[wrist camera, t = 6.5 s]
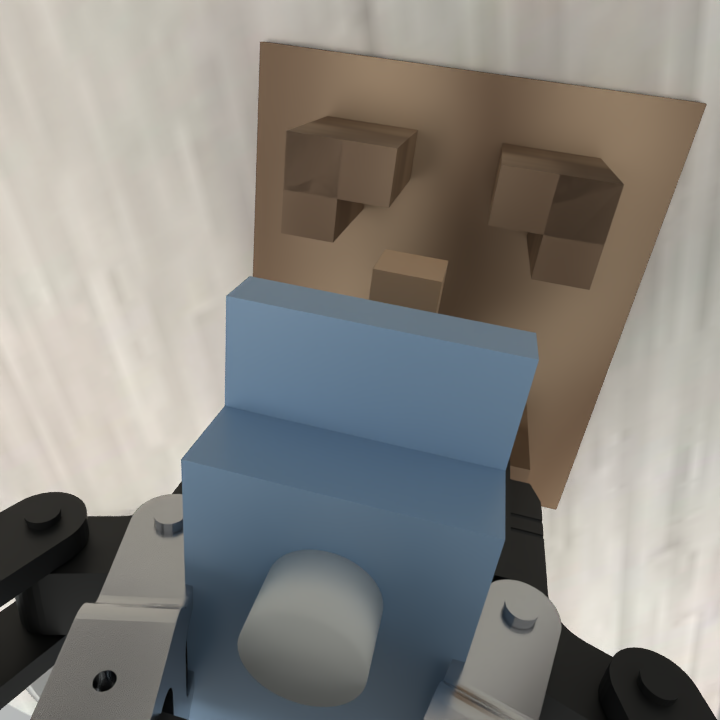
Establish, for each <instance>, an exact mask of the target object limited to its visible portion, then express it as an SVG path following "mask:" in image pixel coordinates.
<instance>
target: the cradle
mask: <svg viewBox="0 0 720 720" xmlns="http://www.w3.org/2000/svg"><path fill="white" fill-rule="evenodd" d="M705 107H706V104H704V103H700V102H693V101H686V100H678V99H671V98H664V97H657V96H650V95H643V94H635V93H628V92H621V91H614V90H607V89H599V88H592V87H585V86H578V85H571V84H564V83H556V82H549V81H542V80H535V79H528V78H521V77H513V76H506V75H499V74H492V73H485V72H478V71H470V70H463V69H456V68H449V67H442V66H435V65H427V64H420V63H413V62H406V61H399V60H392V59H384V58H377V57H370V56H363V55H356V54H348V53H341V52H334V51H327V50H320V49H313V48H305V47H298V46H291V45H284V44H277V43H270V42H260V65H259V98H258V130H257V163H256V195H255V227H254V260H253V277H257V278H262V279H267V280H272V281H277V282H282V283H287V284H292V285H297V286H302V287H307V288H312V289H317V290H322V291H327V292H332V293H337V294H342V295H347V296H352V297H357V298H362V299H367V300H369V294H370V287H371V279H372V272H373V268H374V266H375V265H376V263H377V262H378V260H379V259H380V257H381V255H382V254H383V252H384V251H385V249H388V250H393V251H398V252H404V253H409V254H415V255H420V256H425V257H431V258H436V259H441V260H447V261H448V265H447V270H446V275H445V280H444V285H443V290H442V295H441V300H440V305H439V310H438V314H443V315H448V316H453V317H458V318H463V319H468V320H473V321H478V322H483V323H488V324H493V325H498V326H503V327H508V328H514V329H519V330H524V331H529V332H534V333H536V337H537V346H538V355H539V361H538V365H537V368H536V371H535V375H534V378H533V381H532V385H531V388H530V391H529V395H528V398H527V401H526V405H525V408H524V411H523V414H522V418H521V421H520V424H519V428H518V431H517V434H516V438H515V441H514V444H513V448H512V451H511V454H510V479H512V480H516V481H521V482H525V483H529V484H530V485H531V486H532V488H533V490H534V491H535V493H536V495H537V496H538V498H539V500H540V501H541V506H543V507H547V508H551V509H555V510H556V509H557V506H558V503H559V501H560V498H561V495H562V492H563V490H564V487H565V484H566V482H567V479H568V476H569V474H570V471H571V468H572V466H573V463H574V460H575V457H576V455H577V452H578V449H579V447H580V444H581V441H582V439H583V436H584V433H585V430H586V428H587V425H588V422H589V420H590V417H591V414H592V412H593V409H594V406H595V404H596V401H597V398H598V395H599V393H600V390H601V387H602V385H603V382H604V379H605V377H606V374H607V371H608V369H609V366H610V363H611V360H612V358H613V355H614V352H615V350H616V347H617V344H618V342H619V339H620V336H621V334H622V331H623V328H624V325H625V323H626V320H627V317H628V315H629V312H630V309H631V307H632V304H633V301H634V298H635V296H636V293H637V290H638V288H639V285H640V282H641V280H642V277H643V274H644V272H645V269H646V266H647V263H648V261H649V258H650V255H651V253H652V250H653V247H654V245H655V242H656V239H657V237H658V234H659V231H660V228H661V226H662V223H663V220H664V218H665V215H666V212H667V210H668V207H669V204H670V201H671V199H672V196H673V193H674V191H675V188H676V185H677V183H678V180H679V177H680V175H681V172H682V169H683V166H684V164H685V161H686V158H687V156H688V153H689V150H690V148H691V145H692V142H693V140H694V137H695V134H696V131H697V129H698V126H699V123H700V121H701V118H702V115H703V113H704V110H705Z"/></svg>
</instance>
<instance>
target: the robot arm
mask: <svg viewBox="0 0 720 720" xmlns="http://www.w3.org/2000/svg"><path fill="white" fill-rule="evenodd" d="M13 598H15V599H16V601H15V602H14V603H12V604H11V605H10V606H8V607H7V608H5V609H4V610H2V611H1V612H0V710H1V708H3V707H4V706H5V705H7V704H8V703H9V702H10V701H11V700H13V699H14V698H15V697H16V696H18V695H19V694H20V693H21V692H22V691H24V690H25V689H26V688H27V687H29V686H30V685H31V684H32V683H33V682H35V681H36V680H37V679H38V678H39V677H41V676H42V675H43V674H44V673H46V672H47V671H48V670H49V669H50V668H52V667H53V666H54V667H53V669H52V671H51V674H50V676H49V678H48V680H47V683H46V685H45V687H44V689H43V692H42V694H41V696H40V699H39V701H38V703H37V705H36V708H35V710H34V712H33V714H32V717H31V719H30V720H189V715H190V709H191V704H192V699H193V694H194V689H195V685H194V671H190V670H188V663H187V634H188V628H189V623H190V619H191V614H192V610H193V586H191V585H187V584H185V565H184V533H183V500H182V482H181V483H180V484H179V486H178V487H177V488H176V489H175V491H174V492H173V493H172V494H168V495H163V496H159V497H156V498H153V499H151V500H149V501H147V502H145V503H144V504H142V505H141V506H140V507H139V508H138V509H137V510H136V511H135V512H134V514H133V515H131V516H87V510H86V506H85V504H84V503H83V501H82V500H81V499H79V498H78V497H76V496H74V495H71V494H68V493H63V492H48V493H42V494H38V495H34V496H31V497H29V498H26V499H24V500H22V501H20V502H18V503H16V504H15V505H13V506H11V507H9V508H7V509H6V510H4V511H2V512H0V607H1V606H3V605H4V604H6V603H7V602H9V601H10V600H12V599H13ZM423 720H717V719H716V717H715V716H714V714H713V712H712V711H711V709H710V708H709V706H708V704H707V703H706V701H705V700H704V698H703V696H702V695H701V693H700V692H699V690H698V688H697V687H696V685H695V684H694V682H693V681H692V680H691V679H690V677H689V676H688V675H687V674H686V673H685V672H684V671H683V670H682V669H681V668H680V667H679V666H677V665H676V664H675V663H673V662H672V661H671V660H669V659H667V658H666V657H664V656H662V655H660V654H658V653H656V652H653V651H651V650H648V649H643V648H634V647H633V648H626V649H623V650H620V651H619V652H617V653H616V654H615V655H614V656H613V657H612V656H610V655H608V654H606V653H604V652H603V651H601V650H599V649H597V648H595V647H594V646H592V645H590V644H588V643H586V642H585V641H583V640H581V639H580V638H578V637H577V636H576V635H574V634H573V633H572V632H570V631H569V630H568V629H567V628H566V627H565V626H564V625H563V624H562V622H561V619H560V616H559V613H558V611H557V609H556V607H555V606H554V605H553V603H552V602H551V601H550V600H549V597H548V589H547V575H546V562H545V549H544V539H543V524H542V510H541V501H540V500H539V498H538V496H537V495H536V493H535V491H534V490H533V488H532V486H531V485H530V484H529V483H525V482H521V481H516V480H512V479H510V458H509V461H508V464H507V468H506V472H505V542H504V545H503V548H502V551H501V554H500V557H499V560H498V564H497V567H496V570H495V573H494V576H493V579H492V582H491V585H490V588H489V591H488V594H487V597H486V601H485V604H484V607H483V610H482V613H481V616H480V619H479V622H478V625H477V628H476V631H475V634H474V638H473V641H472V644H471V647H470V650H469V653H468V656H467V659H466V662H462V661H458V660H455V659H452V662H451V664H450V666H449V669H448V671H447V673H446V676H445V678H444V680H443V681H442V680H441V682H440V683H439V685H438V687H437V689H436V692H435V694H434V696H433V698H432V701H431V703H430V705H429V707H428V710H427V712H426V714H425V717H424V719H423Z"/></svg>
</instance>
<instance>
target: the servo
mask: <svg viewBox="0 0 720 720" xmlns="http://www.w3.org/2000/svg"><path fill="white" fill-rule="evenodd" d="M447 265H448V261H447V260H441V259H436V258H431V257H425V256H420V255H415V254H409V253H404V252H398V251H393V250H388V249H385V251H384V252H383V254H382V255H381V257H380V259H379V260H378V262H377V263H376V265H375V266H374V268H373V272H372V279H371V287H370V294H369V300H367V299H362V298H357V297H352V296H347V295H342V294H337V293H332V292H327V291H322V290H317V289H312V288H307V287H302V286H297V285H292V284H287V283H282V282H277V281H272V280H267V279H262V278H257V277H252V276H249V277H248V278H247V279H246V280H245V281H243V282H242V283H241V284H240V285H239V286H238V287H236V288H235V289H234V290H233V291H232V292H230V293H229V294H228V295H227V296H226V362H225V406H224V408H223V409H222V410H221V411H220V412H219V414H218V415H217V416H216V417H215V419H214V420H213V421H212V422H211V424H210V425H209V426H208V427H207V428H206V430H205V431H204V432H203V433H202V435H201V436H200V437H199V438H198V440H197V441H196V442H195V443H194V444H193V446H192V447H191V448H190V449H189V451H188V452H187V453H186V454H185V455H184V457H183V458H182V459H181V468H182V500H183V533H184V565H185V584H187V585H191V586H193V610H192V614H191V619H190V623H189V628H188V634H187V663H188V670H190V671H194V685H195V689H194V694H193V699H192V704H191V709H190V715H189V720H423V719H424V717H425V714H426V712H427V710H428V707H429V705H430V703H431V701H432V698H433V696H434V694H435V692H436V689H437V687H438V685H439V683H440V682H441V680H442V681H443V680H444V678H445V676H446V673H447V671H448V669H449V666H450V664H451V662H452V659H455V660H458V661H462V662H466V659H467V656H468V653H469V650H470V647H471V644H472V641H473V638H474V634H475V631H476V628H477V625H478V622H479V619H480V616H481V613H482V610H483V607H484V604H485V601H486V597H487V594H488V591H489V588H490V585H491V582H492V579H493V576H494V573H495V570H496V567H497V564H498V560H499V557H500V554H501V551H502V548H503V545H504V542H505V472H506V468H507V464H508V461H509V458H510V454H511V451H512V448H513V444H514V441H515V438H516V434H517V431H518V428H519V424H520V421H521V418H522V414H523V411H524V408H525V405H526V401H527V398H528V395H529V391H530V388H531V385H532V381H533V378H534V375H535V371H536V368H537V365H538V361H539V355H538V346H537V337H536V333H534V332H529V331H524V330H519V329H514V328H508V327H503V326H498V325H493V324H488V323H483V322H478V321H473V320H468V319H463V318H458V317H453V316H448V315H443V314H438V310H439V305H440V300H441V295H442V290H443V285H444V280H445V275H446V270H447Z"/></svg>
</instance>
